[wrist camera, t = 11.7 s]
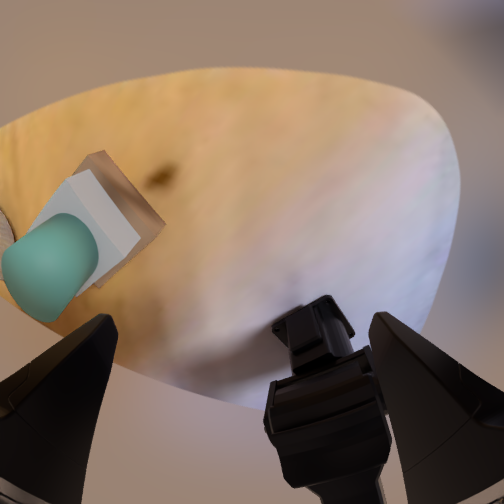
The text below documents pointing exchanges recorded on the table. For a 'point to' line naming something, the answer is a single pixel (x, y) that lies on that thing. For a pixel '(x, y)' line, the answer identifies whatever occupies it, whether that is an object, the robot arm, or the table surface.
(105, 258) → the grey block
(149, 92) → the table surface
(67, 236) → the teal cylinder
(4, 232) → the seashell
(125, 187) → the walnut base
